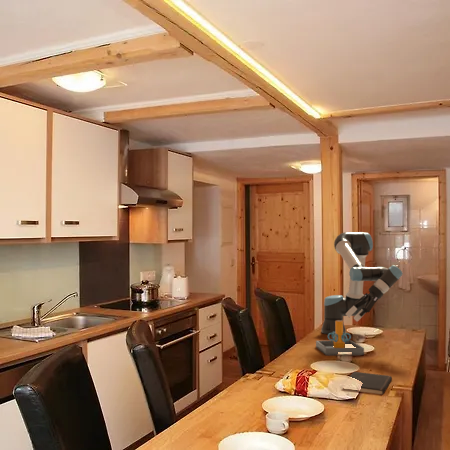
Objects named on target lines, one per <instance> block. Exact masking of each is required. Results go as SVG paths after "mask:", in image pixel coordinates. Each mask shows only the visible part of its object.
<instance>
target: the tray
mask: <svg viewBox="0 0 450 450" xmlns="http://www.w3.org/2000/svg"><path fill="white" fill-rule="evenodd" d="M345 344H352V345H353V346H354V347H356V348H334V347H333V346H334V340H333V341H331V340H315V348H316V349H317V350H319V351H320V352H321V353H322V354H323V355H325V356H338V355H337V354H338V352H352V355H351V356H364V355H365V348H364V347H363V346H361V345H360V344H358V343H356V342H355V341H353V340H351V339H350V340H349V341H346V342H345Z"/></svg>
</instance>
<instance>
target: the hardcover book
mask: <svg viewBox="0 0 450 450" xmlns="http://www.w3.org/2000/svg"><path fill="white" fill-rule="evenodd" d="M349 377H352V378H355V379H357V380H359V381H361V382H362V383H363V384H362V386H361V390H360V391H359V392H362V393H368V394H376V395H384V393H385V392H386V390H387V388H388V387H389V385H390V384H391V382H392V380H393V378H392V376H391V375H387V374H376V373H369V372H362V371H361V372H359V371H353V372H352V373H351V375H349Z"/></svg>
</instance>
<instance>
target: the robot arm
mask: <svg viewBox="0 0 450 450" xmlns="http://www.w3.org/2000/svg"><path fill="white" fill-rule="evenodd" d="M373 242H374V241H373V238H372V235H371V234H370V233H369V232H363V231H359V232H358V231H357V232H356V231H355V232H353V231H352V232H351V231H350V232H349V231H348V232H347V231H345V232H342V233H339V234H338V235H337V236H336V237H335V240H334V242H333V247H334V250H335V251H336V253H337V254H338V255H340V256H341V258H342V260H343V261H344V262H345V264H346V265H347V267H348V268H349V273H348V275H349V281H348V283H349V284H348V285H349V286H348V292H346V293H345V297H344V296H343V295H341V294H340V295H339V294H334V295H328V296H326V297H324V301H323V312H324V313H323V317H324V318H323V323H322V325H321V333H322V334H324V335H328V334H329V333H332V332H335V321H336V320H342V321H343V332H344V334H345V333H347V332H346V331H347V330H346V326H345V324H344V317H347V318H350V317H353V319H354V321H355V322H359V321H360V320H361V319H362V318H363V317H364V315H365V314H367V313H370V312H371V310H372V308H374V306H375V304H376V303H377V302H378V301H379V300H380V299H381V298H382V297H383V296H384V294H386V293H387V292H389V290H390V289H391V288H392V287H393V286H394V284H396V283H397V281H399V279H400V278H401V277H402V276H403V271H402V270H401V269H400V268H399V267H398V266H397V265H394V264H391V266H389V267H388V268H387V267H384V266H377V267H376V266H375V267H370V266H369V267H367V266H366V258H367V256H369V252H371V251H373V249H374V248H373V247H374V243H373ZM364 282H374V283H373V285H371V286H370V287H369V288H368V292H369V293H368V292H366V293H365V294H364V292H363V291H364ZM334 334H335V333H334ZM330 335H331V336H332V334H330Z"/></svg>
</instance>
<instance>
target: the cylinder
mask: <svg viewBox="0 0 450 450" xmlns="http://www.w3.org/2000/svg"><path fill="white" fill-rule="evenodd" d="M343 323H344V320H343V321H342V320H336V321H335V332H332V333H329V334H327V339H328V341H334V348H345V342H346V341H349V340H351V339H352V334H351V333H349V332H346V333H345V334H344V332H343ZM334 333H335V334H334ZM331 334H332V335H331ZM330 335H331V338H330ZM347 335H348V336H347ZM348 337H349V338H348Z"/></svg>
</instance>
